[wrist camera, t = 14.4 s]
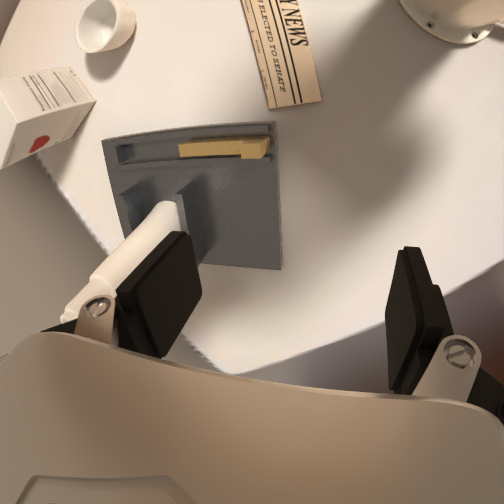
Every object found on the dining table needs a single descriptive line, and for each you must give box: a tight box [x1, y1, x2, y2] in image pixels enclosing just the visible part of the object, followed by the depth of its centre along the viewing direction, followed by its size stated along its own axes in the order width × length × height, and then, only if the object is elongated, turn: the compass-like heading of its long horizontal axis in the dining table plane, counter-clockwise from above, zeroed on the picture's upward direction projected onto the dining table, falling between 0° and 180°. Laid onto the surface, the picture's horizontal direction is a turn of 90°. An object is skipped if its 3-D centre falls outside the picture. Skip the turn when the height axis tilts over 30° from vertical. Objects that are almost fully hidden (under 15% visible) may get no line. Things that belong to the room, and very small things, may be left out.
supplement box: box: [0, 67, 96, 169], centre depth 31 cm, size 9×9×15 cm
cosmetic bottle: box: [60, 201, 181, 324], centre depth 33 cm, size 6×6×22 cm
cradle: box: [102, 121, 282, 270], centre depth 39 cm, size 25×20×5 cm
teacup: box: [75, 0, 136, 53], centre depth 27 cm, size 10×8×5 cm
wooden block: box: [178, 136, 271, 159], centre depth 32 cm, size 10×2×5 cm, turn 95°
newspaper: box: [242, 0, 322, 109], centre depth 25 cm, size 24×7×2 cm, turn 13°
